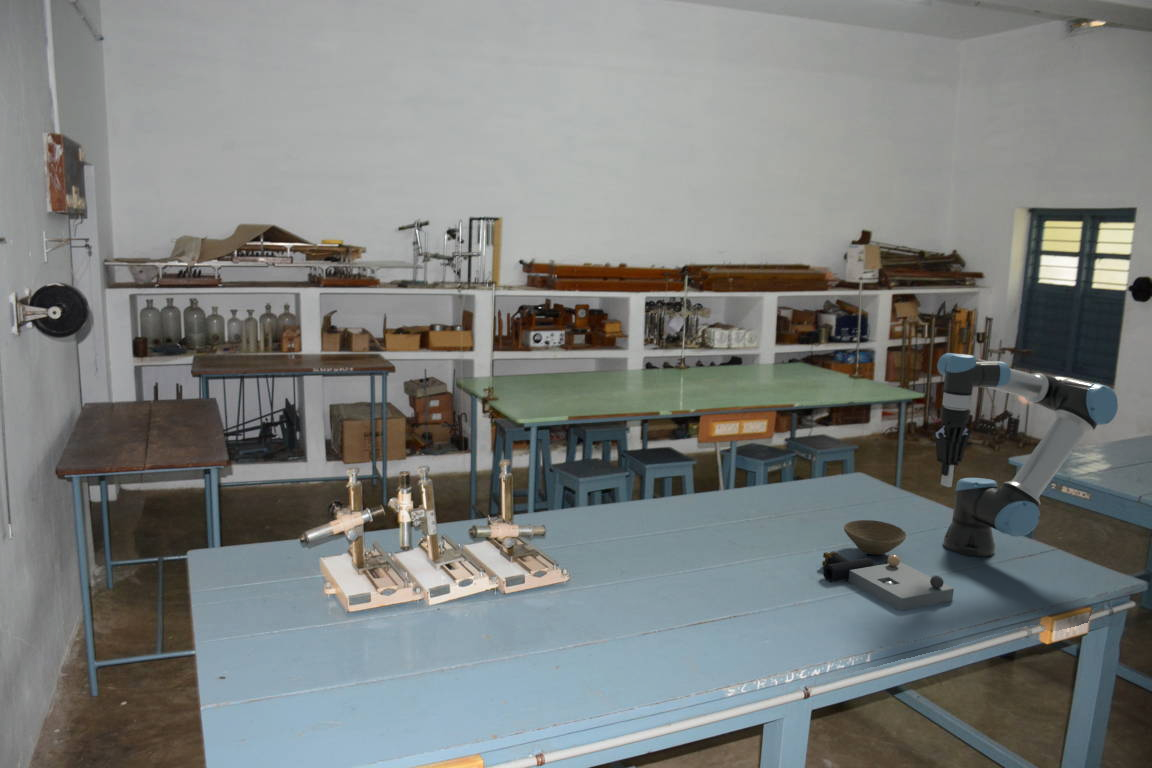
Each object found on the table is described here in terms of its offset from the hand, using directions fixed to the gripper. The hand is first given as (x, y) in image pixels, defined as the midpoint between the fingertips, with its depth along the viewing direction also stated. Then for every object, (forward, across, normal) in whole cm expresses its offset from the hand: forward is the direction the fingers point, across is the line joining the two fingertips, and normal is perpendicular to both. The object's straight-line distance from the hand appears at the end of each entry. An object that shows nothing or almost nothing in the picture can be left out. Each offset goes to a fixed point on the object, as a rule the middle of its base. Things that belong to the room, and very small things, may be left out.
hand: (946, 485), depth 253 cm
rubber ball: (+23, +18, +16) cm, 33 cm away
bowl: (+27, +9, -17) cm, 33 cm away
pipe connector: (+27, +30, -8) cm, 41 cm away
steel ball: (+26, +25, +8) cm, 37 cm away
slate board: (+26, +22, +8) cm, 36 cm away
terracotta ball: (+23, +18, 0) cm, 29 cm away
